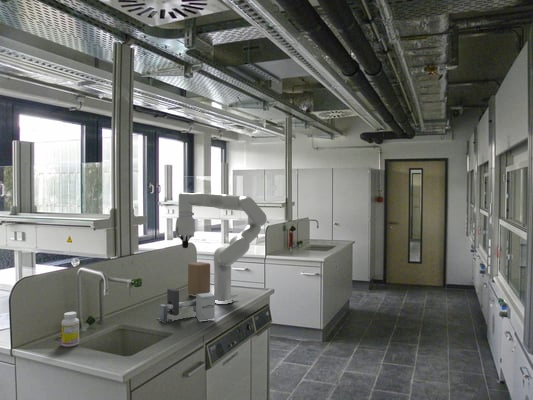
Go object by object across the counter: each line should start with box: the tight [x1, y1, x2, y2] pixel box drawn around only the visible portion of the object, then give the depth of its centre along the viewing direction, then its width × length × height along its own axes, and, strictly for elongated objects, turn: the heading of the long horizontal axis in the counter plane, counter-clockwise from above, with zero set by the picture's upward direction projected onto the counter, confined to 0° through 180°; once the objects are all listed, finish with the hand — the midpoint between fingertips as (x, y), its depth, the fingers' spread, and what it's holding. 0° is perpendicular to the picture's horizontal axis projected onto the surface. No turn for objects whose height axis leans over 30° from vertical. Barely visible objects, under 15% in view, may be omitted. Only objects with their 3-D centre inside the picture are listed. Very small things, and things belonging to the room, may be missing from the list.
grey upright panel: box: [166, 287, 180, 316], centre depth 218 cm, size 2×7×12 cm, turn 41°
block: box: [187, 261, 211, 295], centre depth 267 cm, size 10×10×20 cm
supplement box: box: [195, 292, 216, 320], centre depth 216 cm, size 7×7×13 cm
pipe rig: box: [156, 298, 196, 323], centre depth 220 cm, size 22×8×8 cm, turn 131°
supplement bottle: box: [60, 311, 80, 348], centre depth 179 cm, size 7×7×13 cm
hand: (185, 247), depth 244 cm, fingers closed
